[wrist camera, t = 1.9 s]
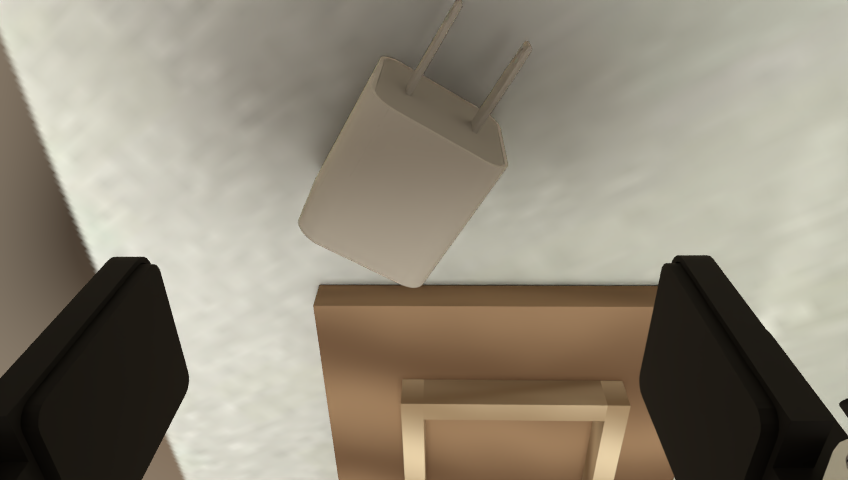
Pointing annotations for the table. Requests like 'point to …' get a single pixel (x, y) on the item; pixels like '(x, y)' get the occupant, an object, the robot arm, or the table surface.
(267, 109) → the table surface
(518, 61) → the usb wall charger
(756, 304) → the table surface
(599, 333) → the jig board
